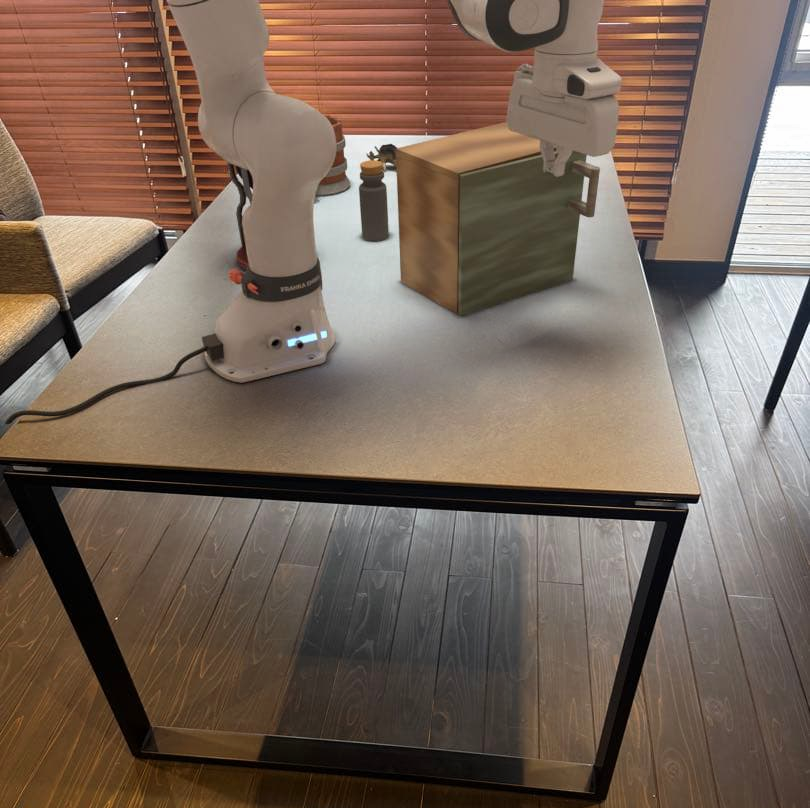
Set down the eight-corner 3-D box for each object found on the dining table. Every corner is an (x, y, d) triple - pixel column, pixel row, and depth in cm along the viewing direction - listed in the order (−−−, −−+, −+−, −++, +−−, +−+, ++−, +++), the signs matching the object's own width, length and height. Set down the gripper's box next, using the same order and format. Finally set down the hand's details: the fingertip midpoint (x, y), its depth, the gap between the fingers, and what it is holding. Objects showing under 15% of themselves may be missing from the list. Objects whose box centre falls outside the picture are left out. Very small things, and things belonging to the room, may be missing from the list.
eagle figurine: (367, 170, 204) (400, 163, 201) (364, 141, 203) (398, 134, 201) (376, 178, 211) (408, 172, 209) (373, 150, 210) (406, 144, 208)
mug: (354, 178, 203) (350, 113, 193) (341, 204, 189) (335, 136, 179) (301, 177, 205) (294, 113, 195) (284, 203, 191) (275, 136, 180)
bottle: (385, 242, 171) (381, 168, 161) (359, 240, 172) (354, 167, 162) (391, 231, 175) (388, 159, 165) (365, 230, 176) (360, 158, 166)
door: (593, 290, 149) (611, 153, 133) (479, 328, 139) (484, 185, 123) (569, 277, 154) (584, 144, 137) (457, 314, 144) (459, 174, 128)
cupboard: (563, 276, 155) (577, 141, 138) (456, 314, 144) (458, 173, 128) (503, 248, 166) (510, 120, 150) (400, 282, 155) (395, 148, 139)
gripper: (500, 64, 119) (494, 162, 128) (598, 87, 106) (584, 194, 115) (531, 58, 122) (524, 155, 131) (631, 81, 109) (615, 186, 118)
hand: (553, 174), depth 123 cm, fingers closed
